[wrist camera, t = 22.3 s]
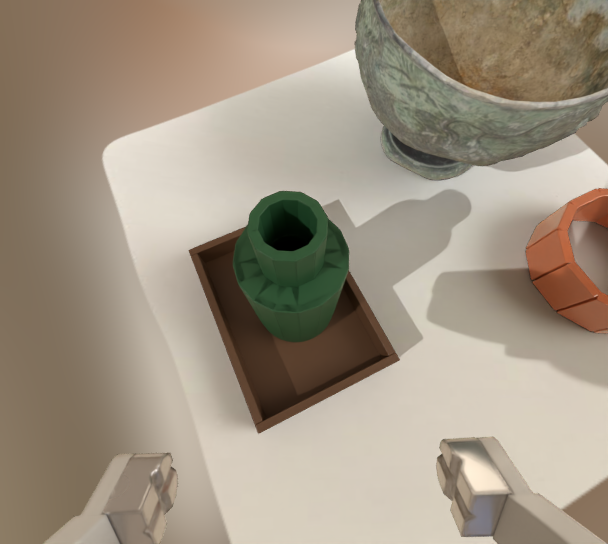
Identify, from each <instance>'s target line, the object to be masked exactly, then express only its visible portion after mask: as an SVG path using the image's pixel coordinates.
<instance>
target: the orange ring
mask: <svg viewBox="0 0 608 544" xmlns="http://www.w3.org/2000/svg"><path fill="white" fill-rule="evenodd" d="M572 220H574V221H590V222H596V223H598V224H600V225H602V226H604V227H606V228H608V189H602V188H599V189H594V190H592V191H590V192H588V193H586V194H584V195H581V196H579V197H577V198H575V199H573V200H571V201H569V202H568V203H567V204H565V205H564V206H562V207H561V208H560V209H558V210H557V211H556V212H554V213H553V214H552V215H550V216H549V217H547V218H546V219H545V220H543V221H542V222H541V223H539V224H538V225H537V226H536V228H535V230H534V232H533V234H532V236H531V238H530V240H529V243H528V245H527V247H526V249H527V250H526V256H527V261H528V267H529V272H530V277H531V280H535V281H533V282H532V283H533V284H534V285H535V287H536V288H537V289H538V290H539V292H540V293H541V294H542V295H543V297H544V298H545V299H546V300H547V302H548V303H549V304H550V306H551V307H552V308H553V309H554V310H555V311H556V310H558V311H557V313H558V314H560V315H562V316H564V317H566V318H567V319H569V320H571V321H573V322H574V323H576V324H578V325H580V326H582V327H583V328H585V329H587V330H589V331H591V332H592V331H594V332H595V333H607V334H608V295H606V294H604V293H602V292H601V291H600V290H599V289H598V288H597V287H596V286H595V284H594V283H593V282H592V281H591V280H590V279H589V277H588V276H587V275H586V274H585V273H584V272H583V271H582V269H581V268H580V267H579V266H578V265H577V264H576V262H575V260H574V256H573V252H572V248H571V244H570V240H569V236H568V232H567V231H568V229H569V226H570V224H571V222H572Z"/></svg>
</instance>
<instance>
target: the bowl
mask: <svg viewBox="0 0 608 544" xmlns="http://www.w3.org/2000/svg"><path fill="white" fill-rule="evenodd" d="M355 30H356V33H357V38H356V41H355V52H356V58H357V60H358V63H359V69H360V75H361V79H362V82H363V84H364V87H365V90H366V92H367V95H368V98H369V101H370V104H371V107H372V109H373V111H374V112H375V114H376V116H377V117H378V119H379V120H380V121H381V122H382V124H383V125H384V127H383V130H382V134H381V144H382V147H383V150H384V152H385V154H386V156H387V157H388V158H389V159H390V160H391V161H393V162H395V163H397V164H399V165H400V166H402V167H404V168H406V169H408V170H411V171H413V172H415V173H417V174H419V175H421V176H423V177H425V178H428V179H431V180H442V179H449V178H452V177H455V176H458V175H460V174H462V173H463V172H465V171H466V170H467V169H468V168H469V167H470V166H471V165H476V166H487V165H492V164H496V163H498V162H500V161H503V160H508V159H513V158H516V157H522V156H524V155H526V154H528V153H531V152H533V151H535V150H538V149H541V148H544V147H547V146H549V145H551V144H553V143H555V142H557V141H559V140H562V139H564V138H566V137H568V136H570V135H572V134H574V133H576V131H577V130H578V129H579V128H580V127H582V126H585V125H586V124H587V122H589V121H592V120H593V119H595V118H596V117H597V116H598V115H599V113H600V111H601V108H602V106H603V105H604V104H605V103H606V102H608V0H361V3H360V4H359V8H358V13H357V18H356V25H355Z"/></svg>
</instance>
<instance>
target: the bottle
mask: <svg viewBox="0 0 608 544" xmlns="http://www.w3.org/2000/svg"><path fill="white" fill-rule="evenodd" d="M348 249H349V248H348V246H347V244H346V242H345V239H344V237H343V235H342V232H341V231H340V229H339V228H338V227H337V226H336V225H334V224H333V223H332V222H331V221H330V220H329V219H328V218H327V215H326V214H325V212H324V210H323V209H322V207H321V205H320V204H319V202H318V201H316V200H315V199H313V198H311V197H309V196H307V195H306V194H304V193H302V192H293V191H279V192H277V193H275V194H272V195H270V196H267V197H265V198H263V199H261V201H260V202H259V203H258V204H257V205H256V207H255V208H254V209H253V210H252V211H251V213H250V215H249V222H248V225H247V226H246V228H245V229H244V231H243V232H242V234H241V236H240V237H239V239H238V240H237V242H236V244H235V250H234V257H233V268H234V271H235V275H236V278H237V282H238V284H239V286H240V288H241V290H242V291H243V293H244V295H245V296H246V298H247V299H248V301H249V303H250V304H251V306H252V308H253V309H254V311H255V313H256V314H257V316H258V317H259V319H260V321H261V322H262V324H263V325H264V326H265V327H266V329H267V330H268V331H269V332H270V333H271V334H273V335H274V336H275V337H277V338H279V339H281V340H284V341H288V342H304V341H307V340H310V339H312V338H314V337H316V336H318V335H319V334H320V333H322V332H323V331H324V329H325V328H326V327H327V326H328V324H329V322H330V320H331V318H332V316H333V314H334V311H335V308H336V305H337V302H338V299H339V297H340V294H341V291H342V288H343V285H344V282H345V279H346V276H347V274H348V270H349V250H348Z"/></svg>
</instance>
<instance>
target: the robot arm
mask: <svg viewBox="0 0 608 544" xmlns="http://www.w3.org/2000/svg"><path fill="white" fill-rule="evenodd" d="M439 448H440V450H441V452H442V454H441V455H440V456H439V457H438V458H437V463H436V469H437V476H438V480H439V483H440V486H441V488H442V491H443V493H444V494H445V495H446V496H447V497H448V498H449V499H450V500H451V501H452V505H451V509H450V511H451V513H452V515H453V518H454V520H455V522H456V525H457V527H458V530H459V532H460V534H461V537H485V536H493V539H494V540H495V541H496V542H497V543H498V544H607V543H605V542H604V541H603V540H601V539H600V538H599V537H597V536H596V535H595V534H593V533H592V532H590V531H589V530H588V529H586V528H585V527H584V526H582V525H581V524H580V523H578V522H577V521H576V520H574V519H573V518H571V517H570V516H569V515H567V514H566V513H565V512H563V511H562V510H561V509H559V508H558V507H557V506H555V505H554V504H553V503H551V502H550V501H549V500H547V499H546V498H544V497H543V496H542V495H540V494H539V493H533V492H532V490H531V489H530V488H529V486H528V485H527V483H526V482H525V480H524V479H523V477H522V476H521V474H520V473H519V471H518V470H517V468H516V467H515V465H514V464H513V462H512V461H511V459H510V458H509V456H508V455H507V453H506V452H505V450H504V449H503V447H502V446H501V444H500V443H499V441H498V440H497V439H496V438H494V437H481V438H475V437H471V438H456V439H443V440H442V441H441V442H440V447H439ZM172 461H173V459H172V456H171V453H144V454H143V453H142V454H117V455H116V456H115V457H114V458H113V459H112V460H111V462H110V464H109V466H108V467H107V469H106V471H105V473H104V474H103V476H102V478H101V480H100V481H99V483H98V485H97V487H96V488H95V490H94V492H93V494H92V495H91V497H90V499H89V501H88V502H87V504H86V506H85V508H84V509H83V511H82V513H81V515H79V516H74V517H73V518H72V519H70V520H69V521H68V522H67V523H66V524H65V525H64V526H62V527H61V528H60V529H59V530H58V531H57V532H55V533H54V534H53V535H52V536H51V537H50V538H49V539H47V540H46V541H45V542H44V543H43V544H160V543H161V540H162V537H163V534H164V531H165V528H166V525H167V523H166V519H165V516H164V515H165V514H166V513H167V512H168V511H169V510H170V509H171V508H172V507H173V504H174V500H175V497H176V493H177V487H178V476H177V472H176V470H175V469H174V468H172V467H171V464H172Z"/></svg>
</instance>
